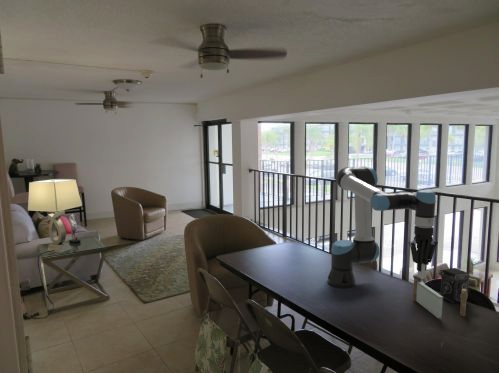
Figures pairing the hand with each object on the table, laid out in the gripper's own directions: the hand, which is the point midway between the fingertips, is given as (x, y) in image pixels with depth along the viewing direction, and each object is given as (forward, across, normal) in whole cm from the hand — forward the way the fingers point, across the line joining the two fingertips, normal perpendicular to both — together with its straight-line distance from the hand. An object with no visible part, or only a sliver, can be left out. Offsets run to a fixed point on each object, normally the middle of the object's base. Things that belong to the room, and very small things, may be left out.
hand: (421, 277), depth 155 cm
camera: (+19, +28, +11) cm, 35 cm away
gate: (+17, +8, +4) cm, 19 cm away
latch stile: (+18, +20, -2) cm, 28 cm away
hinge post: (+18, +8, +14) cm, 25 cm away
